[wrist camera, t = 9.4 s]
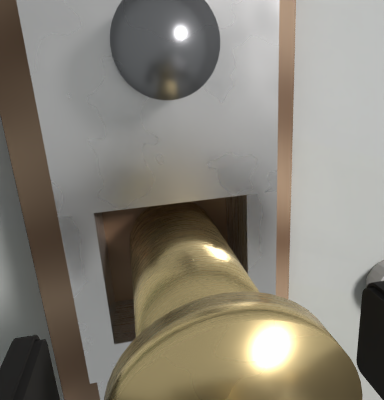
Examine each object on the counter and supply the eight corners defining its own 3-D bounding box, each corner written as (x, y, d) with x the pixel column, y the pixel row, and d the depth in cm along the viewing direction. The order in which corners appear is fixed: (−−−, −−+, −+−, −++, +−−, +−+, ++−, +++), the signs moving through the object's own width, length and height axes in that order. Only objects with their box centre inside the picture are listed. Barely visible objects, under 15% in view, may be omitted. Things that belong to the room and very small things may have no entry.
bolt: (233, 283, 18) (353, 494, 9) (120, 302, 17) (121, 557, 8) (229, 174, 16) (373, 297, 7) (103, 190, 16) (78, 352, 6)
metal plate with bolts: (253, 404, 21) (289, 492, 17) (112, 434, 20) (110, 538, 15) (248, -35, 14) (308, -89, 10) (29, -31, 13) (-20, -92, 8)
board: (277, 394, 23) (285, 410, 22) (79, 436, 21) (77, 456, 20) (284, -55, 15) (297, -65, 14) (-27, -52, 13) (-40, -64, 12)
